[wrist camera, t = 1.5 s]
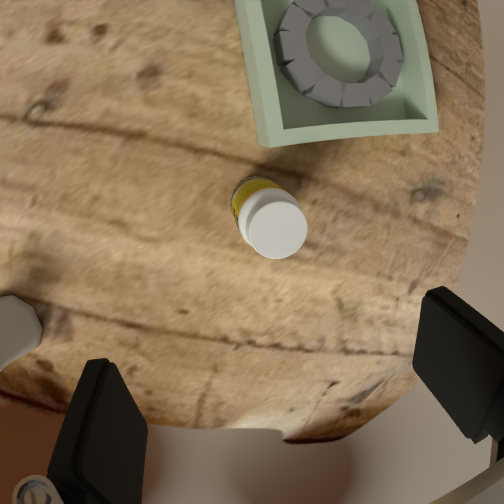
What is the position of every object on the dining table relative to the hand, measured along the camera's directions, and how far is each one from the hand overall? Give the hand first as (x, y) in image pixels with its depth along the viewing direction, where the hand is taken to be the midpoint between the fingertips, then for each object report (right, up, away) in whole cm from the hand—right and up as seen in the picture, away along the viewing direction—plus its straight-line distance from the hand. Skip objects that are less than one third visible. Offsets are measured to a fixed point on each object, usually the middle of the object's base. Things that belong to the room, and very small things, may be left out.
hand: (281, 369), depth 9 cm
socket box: (+6, +21, +16) cm, 27 cm away
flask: (-28, -4, +20) cm, 35 cm away
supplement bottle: (0, +8, +20) cm, 22 cm away
